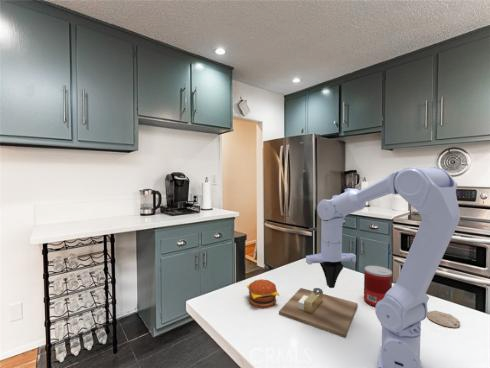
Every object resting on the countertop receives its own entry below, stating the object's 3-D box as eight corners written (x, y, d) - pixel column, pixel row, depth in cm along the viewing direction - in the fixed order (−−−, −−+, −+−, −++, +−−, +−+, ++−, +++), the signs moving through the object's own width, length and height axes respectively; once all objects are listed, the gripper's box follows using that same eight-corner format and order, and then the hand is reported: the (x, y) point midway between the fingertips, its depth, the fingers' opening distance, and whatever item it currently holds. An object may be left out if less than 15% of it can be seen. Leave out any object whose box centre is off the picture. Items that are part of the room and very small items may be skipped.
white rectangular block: (304, 310, 75) (304, 303, 75) (298, 308, 76) (298, 301, 76) (309, 303, 79) (309, 296, 79) (303, 301, 80) (303, 295, 80)
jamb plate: (345, 337, 64) (345, 333, 64) (278, 314, 75) (278, 311, 75) (357, 306, 79) (357, 303, 79) (300, 290, 90) (300, 287, 90)
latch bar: (315, 297, 82) (315, 287, 82) (323, 300, 81) (323, 289, 80) (303, 310, 75) (303, 298, 74) (312, 313, 73) (312, 301, 73)
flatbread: (455, 332, 66) (455, 328, 66) (422, 319, 73) (422, 315, 73) (464, 321, 71) (464, 318, 71) (432, 310, 77) (432, 306, 77)
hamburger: (281, 306, 79) (281, 286, 79) (252, 311, 77) (252, 290, 76) (270, 292, 88) (270, 274, 88) (244, 296, 86) (244, 277, 85)
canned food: (395, 310, 77) (396, 275, 76) (367, 307, 78) (368, 273, 78) (386, 298, 84) (387, 266, 84) (361, 295, 86) (361, 264, 85)
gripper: (347, 236, 77) (346, 278, 77) (302, 237, 75) (301, 281, 75) (360, 242, 70) (359, 289, 70) (311, 244, 68) (311, 293, 68)
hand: (330, 286), depth 72 cm, fingers closed
